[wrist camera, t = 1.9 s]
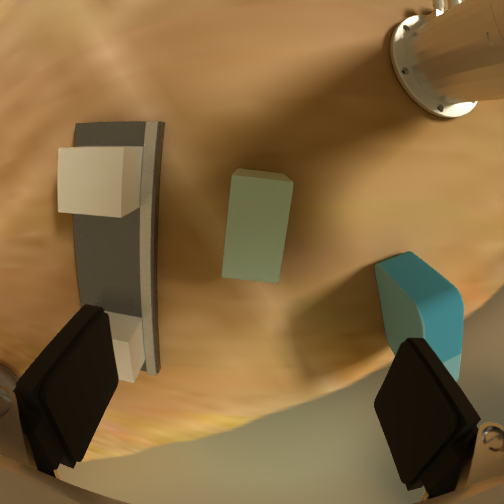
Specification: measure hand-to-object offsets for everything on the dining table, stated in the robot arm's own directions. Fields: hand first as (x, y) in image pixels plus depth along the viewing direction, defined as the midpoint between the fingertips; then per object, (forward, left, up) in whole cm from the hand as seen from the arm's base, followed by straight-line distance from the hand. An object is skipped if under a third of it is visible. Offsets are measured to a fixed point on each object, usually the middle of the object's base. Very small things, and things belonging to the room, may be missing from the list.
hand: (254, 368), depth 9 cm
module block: (0, 0, -23) cm, 23 cm away
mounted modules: (+7, -15, -22) cm, 27 cm away
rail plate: (+7, -15, -23) cm, 28 cm away
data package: (+8, +18, -23) cm, 30 cm away
